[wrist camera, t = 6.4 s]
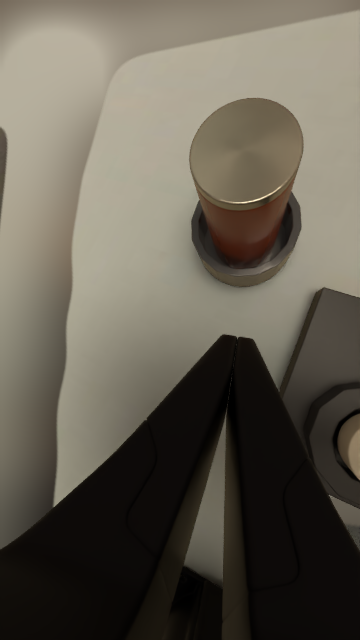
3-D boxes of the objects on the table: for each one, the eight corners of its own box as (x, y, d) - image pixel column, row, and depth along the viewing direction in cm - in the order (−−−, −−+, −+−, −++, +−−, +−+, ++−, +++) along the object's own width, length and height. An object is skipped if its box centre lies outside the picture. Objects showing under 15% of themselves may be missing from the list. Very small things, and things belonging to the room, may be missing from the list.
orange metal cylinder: (262, 277, 20) (279, 216, 10) (206, 260, 21) (173, 190, 11) (283, 220, 20) (321, 106, 10) (226, 206, 21) (210, 89, 11)
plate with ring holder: (383, 508, 18) (416, 548, 14) (257, 450, 20) (259, 473, 16) (448, 332, 18) (498, 330, 14) (315, 292, 20) (331, 281, 16)
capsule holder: (272, 298, 20) (278, 290, 17) (187, 271, 22) (177, 258, 18) (305, 211, 20) (317, 185, 17) (217, 190, 22) (212, 162, 18)
